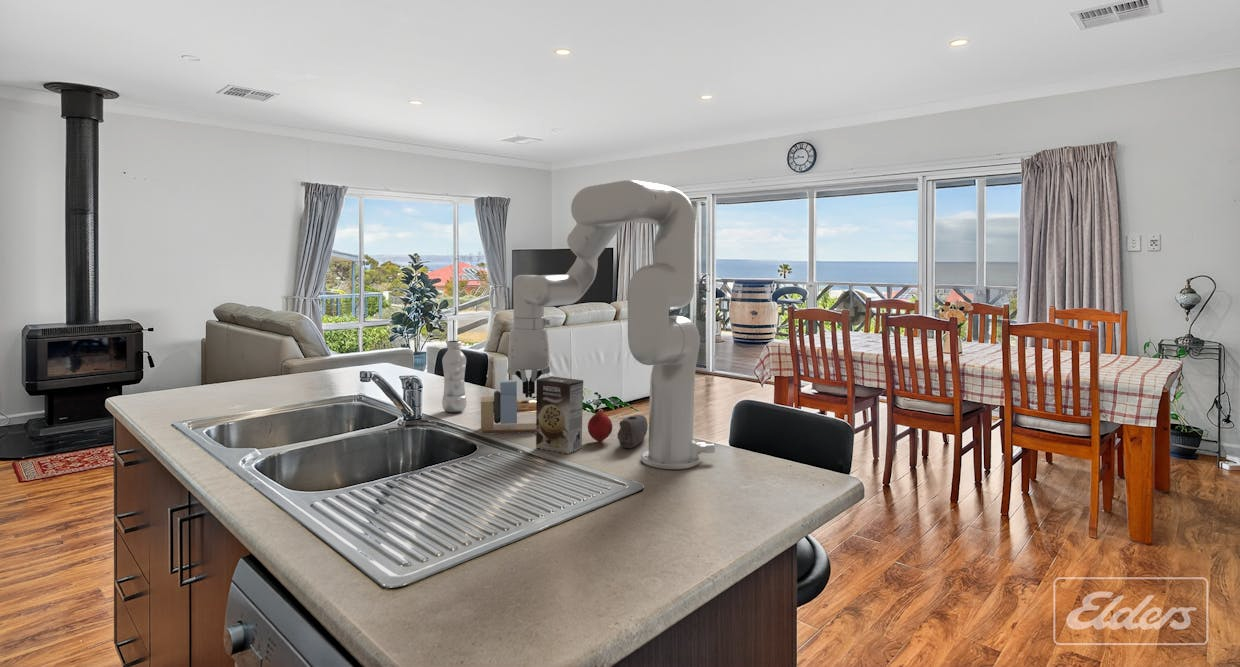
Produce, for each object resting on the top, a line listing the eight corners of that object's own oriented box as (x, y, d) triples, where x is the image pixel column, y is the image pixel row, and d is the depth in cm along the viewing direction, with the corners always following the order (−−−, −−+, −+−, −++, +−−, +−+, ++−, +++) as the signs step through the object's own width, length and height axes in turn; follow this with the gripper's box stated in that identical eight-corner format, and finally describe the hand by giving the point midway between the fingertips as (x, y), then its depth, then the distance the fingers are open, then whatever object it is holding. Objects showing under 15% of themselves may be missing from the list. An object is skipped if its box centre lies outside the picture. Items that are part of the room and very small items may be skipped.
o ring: (500, 418, 174) (500, 388, 173) (500, 425, 167) (500, 394, 166) (494, 418, 174) (494, 388, 173) (493, 426, 166) (493, 394, 165)
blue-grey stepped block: (516, 416, 174) (516, 378, 173) (516, 423, 168) (516, 383, 167) (500, 417, 174) (500, 379, 173) (500, 423, 167) (500, 384, 166)
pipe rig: (548, 425, 176) (548, 395, 175) (550, 431, 170) (550, 400, 169) (481, 427, 173) (481, 397, 172) (481, 433, 167) (480, 402, 166)
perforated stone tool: (634, 435, 168) (635, 407, 168) (654, 437, 167) (655, 409, 166) (612, 450, 154) (612, 420, 154) (634, 453, 153) (634, 423, 152)
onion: (601, 447, 157) (601, 413, 156) (582, 442, 160) (582, 409, 160) (616, 441, 162) (617, 409, 161) (598, 437, 165) (598, 405, 164)
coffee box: (534, 448, 155) (534, 379, 153) (550, 442, 160) (550, 375, 158) (568, 454, 150) (569, 383, 149) (583, 447, 156) (584, 379, 154)
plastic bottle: (440, 410, 191) (439, 340, 189) (464, 408, 194) (463, 339, 192) (444, 415, 186) (443, 343, 183) (469, 413, 188) (468, 342, 186)
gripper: (557, 322, 174) (556, 393, 176) (498, 323, 171) (498, 394, 173) (559, 325, 167) (559, 398, 169) (498, 326, 164) (498, 400, 166)
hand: (528, 396), depth 171 cm, fingers closed
